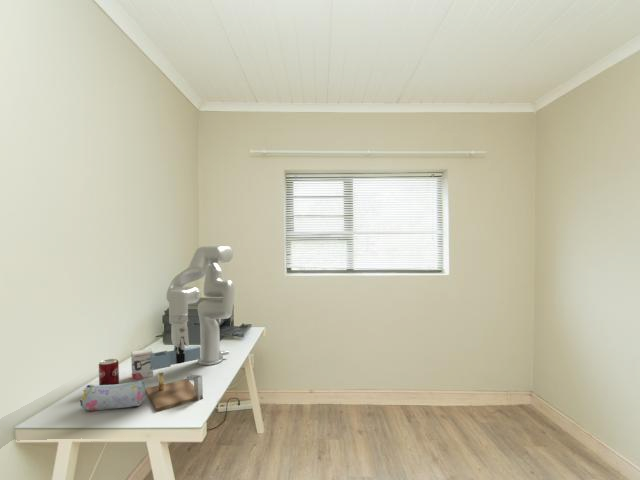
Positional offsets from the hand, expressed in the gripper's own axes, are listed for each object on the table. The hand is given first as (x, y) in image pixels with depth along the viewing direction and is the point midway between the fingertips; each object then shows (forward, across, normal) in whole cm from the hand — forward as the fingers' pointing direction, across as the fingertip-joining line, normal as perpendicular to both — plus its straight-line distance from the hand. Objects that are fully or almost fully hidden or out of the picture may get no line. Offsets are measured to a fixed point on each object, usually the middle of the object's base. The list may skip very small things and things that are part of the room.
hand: (179, 361), depth 150 cm
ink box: (+12, +25, +10) cm, 30 cm away
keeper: (+12, -14, -2) cm, 18 cm away
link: (0, 0, +1) cm, 1 cm away
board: (+12, -5, +4) cm, 13 cm away
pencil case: (+12, -2, +24) cm, 27 cm away
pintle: (+12, 0, +7) cm, 14 cm away
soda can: (+12, +18, +24) cm, 33 cm away
